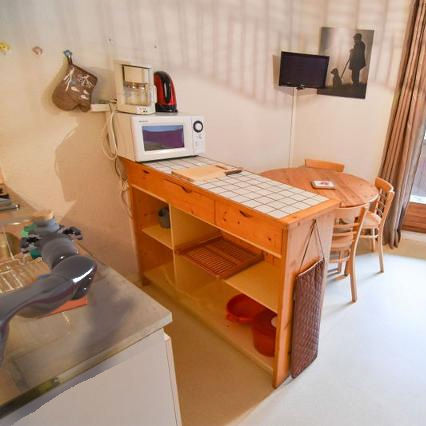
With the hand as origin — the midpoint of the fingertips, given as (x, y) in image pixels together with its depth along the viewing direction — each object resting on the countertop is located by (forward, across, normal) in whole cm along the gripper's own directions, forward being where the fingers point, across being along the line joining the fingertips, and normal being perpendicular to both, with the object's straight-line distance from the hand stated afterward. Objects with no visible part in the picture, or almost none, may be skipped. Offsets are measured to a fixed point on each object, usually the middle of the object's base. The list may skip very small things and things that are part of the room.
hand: (46, 230), depth 95 cm
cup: (+17, +1, +17) cm, 24 cm away
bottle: (-2, 0, +9) cm, 9 cm away
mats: (-7, +1, +17) cm, 19 cm away
